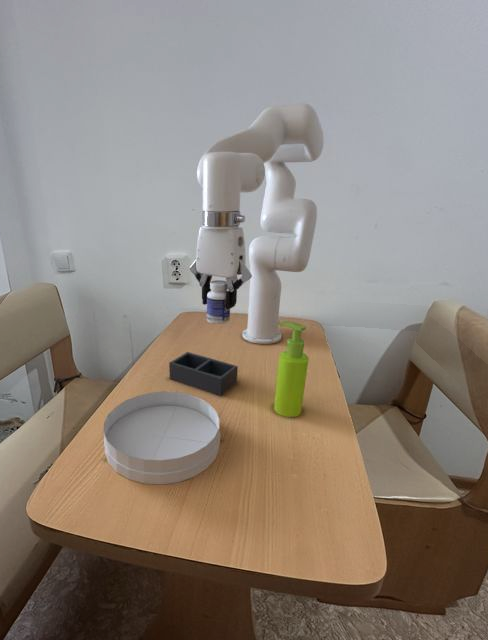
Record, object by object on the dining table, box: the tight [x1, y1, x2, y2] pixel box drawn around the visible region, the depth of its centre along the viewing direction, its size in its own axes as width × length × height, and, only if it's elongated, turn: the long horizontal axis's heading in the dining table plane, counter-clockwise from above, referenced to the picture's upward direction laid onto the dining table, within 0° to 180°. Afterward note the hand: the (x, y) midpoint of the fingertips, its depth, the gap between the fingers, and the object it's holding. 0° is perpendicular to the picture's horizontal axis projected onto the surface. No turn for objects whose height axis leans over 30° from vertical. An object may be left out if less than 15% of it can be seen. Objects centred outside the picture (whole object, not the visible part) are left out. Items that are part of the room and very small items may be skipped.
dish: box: [103, 391, 221, 486], centre depth 71 cm, size 22×22×5 cm
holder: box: [168, 351, 239, 397], centre depth 94 cm, size 8×15×5 cm, turn 56°
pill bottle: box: [206, 279, 231, 325], centre depth 83 cm, size 5×5×9 cm
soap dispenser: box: [273, 320, 309, 418], centre depth 79 cm, size 6×7×20 cm
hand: (218, 304), depth 83 cm, fingers closed on pill bottle, 5 cm apart
